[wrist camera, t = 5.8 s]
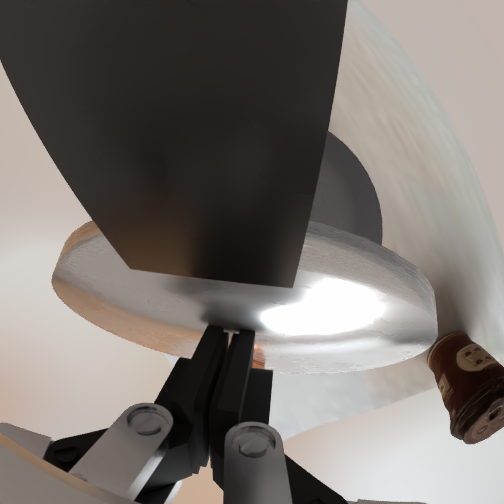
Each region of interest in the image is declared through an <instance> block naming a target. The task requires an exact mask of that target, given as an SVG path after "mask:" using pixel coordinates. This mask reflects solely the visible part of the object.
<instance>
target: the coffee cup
mask: <svg viewBox="0 0 504 504" xmlns="http://www.w3.org/2000/svg"><path fill="white" fill-rule="evenodd" d="M428 366H429V368H430V369H431V370H432V371H433V372H434V374H435V379H436V382H437V385H438V388H439V390H440V392H441V395H442V399H443V402H444V405H445V407H446V409H447V410H448V412H449V415H450V420H451V422H450V430H451V434H452V436H454V437H456V438H458V439H460V440H463V441H464V442H465V443H466V444H475V443H478V442H480V441H482V440H485V439H487V438H489V437H490V436H491V435H492V434H494V433H495V432H496V431H498V430H500V429H501V428H502V427H504V367H503V366H502V365H501V364H499V362H498V361H496V360H495V359H494V358H493V357H492V356H491V355H490V354H489V353H487V351H485V350H484V349H483V348H482V347H481V346H480V345H478V344H476V343H475V342H473V341H471V339H470V338H469V337H468V336H467V335H466V334H465V333H463V332H456V333H452V334H450V335H448V336H445V337H443V338H442V339H441V340H440V341H438V342H437V343H436V344H435V345H434V347H433V349H432V350H431V351H430V353H429V357H428Z"/></svg>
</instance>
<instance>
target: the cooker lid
mask: <svg viewBox="0 0 504 504" xmlns="http://www.w3.org/2000/svg"><path fill="white" fill-rule="evenodd" d="M347 2H348V0H0V60H1V63H2V65H3V67H4V70H5V72H6V74H7V76H8V78H9V80H10V83H11V85H12V87H13V89H14V91H15V93H16V95H17V97H18V99H19V101H20V103H21V105H22V107H23V108H24V111H25V112H26V114H27V116H28V118H29V120H30V122H31V124H32V125H33V127H34V129H35V130H36V133H37V134H38V136H39V138H40V139H41V141H42V143H43V145H44V146H45V148H46V150H47V151H48V153H49V155H50V156H51V158H52V159H53V161H54V163H55V164H56V166H57V168H58V169H59V171H60V172H61V174H62V176H63V177H64V179H65V180H66V182H67V183H68V185H69V186H70V188H71V189H72V191H73V192H74V194H75V195H76V197H77V198H78V200H79V201H80V203H81V204H82V205H83V207H84V208H85V210H86V211H87V213H88V214H89V215H90V217H91V218H92V221H90V222H88V223H85V224H84V225H82V226H81V227H80V228H78V229H77V230H76V231H74V232H73V233H72V234H71V236H70V237H69V238H68V240H67V241H66V242H65V245H64V247H63V250H62V252H61V254H60V257H59V259H58V262H57V265H56V267H55V270H54V272H53V275H52V285H53V289H54V291H55V292H56V294H57V296H58V297H59V298H60V299H61V300H62V301H63V302H64V303H65V304H66V305H67V306H68V307H69V308H70V309H72V310H73V311H74V312H76V313H77V314H78V315H80V316H81V317H83V318H85V319H86V320H88V321H90V322H91V323H93V324H95V325H96V326H98V327H100V328H102V329H104V330H106V331H108V332H110V333H112V334H114V335H117V336H119V337H121V338H124V339H126V340H129V341H131V342H134V343H136V344H139V345H142V346H145V347H148V348H151V349H154V350H157V351H160V352H163V353H166V354H170V355H173V356H177V357H184V358H189V359H191V358H192V356H193V354H194V352H195V350H196V348H197V346H198V343H199V341H200V339H201V337H202V335H203V333H204V331H205V329H206V327H207V326H215V327H222V328H223V329H224V332H229V344H230V341H231V338H232V335H233V333H237V334H239V331H240V330H246V331H255V344H254V355H253V366H252V368H259V369H268V370H273V373H291V374H325V373H342V372H353V371H361V370H367V369H373V368H379V367H383V366H388V365H392V364H395V363H399V362H402V361H405V360H407V359H410V358H413V357H415V356H417V355H419V354H421V353H423V352H424V351H425V350H427V349H428V348H430V347H431V346H432V345H433V343H434V342H435V341H436V339H437V336H438V326H437V314H436V303H435V295H434V290H433V288H432V287H431V285H430V283H429V281H428V279H427V278H426V277H425V276H424V275H423V274H422V273H421V272H420V271H419V270H418V269H417V268H416V267H415V266H414V265H413V264H411V263H410V262H408V261H407V260H405V259H404V258H403V257H401V256H400V255H398V254H397V253H395V252H393V251H391V250H389V249H387V248H385V247H383V246H381V245H379V244H377V243H375V242H373V241H371V240H368V239H366V238H364V237H361V236H358V235H355V234H353V233H350V232H347V231H344V230H341V229H338V228H335V227H332V226H329V225H326V224H322V223H318V222H314V221H309V219H310V214H311V210H312V205H313V201H314V196H315V192H316V187H317V182H318V178H319V173H320V168H321V163H322V158H323V153H324V148H325V143H326V137H327V132H328V127H329V121H330V116H331V110H332V104H333V99H334V93H335V87H336V81H337V75H338V68H339V62H340V55H341V48H342V41H343V34H344V26H345V19H346V11H347ZM228 348H229V347H228Z"/></svg>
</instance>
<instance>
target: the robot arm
mask: <svg viewBox="0 0 504 504" xmlns="http://www.w3.org/2000/svg"><path fill="white" fill-rule="evenodd" d="M254 344H255V331H246V330H240V331H239V334H237V333H233V335H232V338H231V341H230V344H229V332H224V329H223V328H222V327H215V326H207V327H206V329H205V331H204V333H203V335H202V337H201V339H200V341H199V343H198V346H197V348H196V350H195V352H194V354H193V356H192V358H191V359H189V358H184V357H180V358H179V359H178V361H177V362H176V364H175V366H174V368H173V370H172V372H171V373H170V375H169V377H168V379H167V381H166V382H165V384H164V386H163V388H162V390H161V391H160V393H159V395H158V397H157V399H156V400H155V402H154V403H140V404H136V405H133V406H131V407H129V408H128V409H127V410H125V411H124V412H123V413H122V414H121V416H120V417H119V418H118V419H117V420H116V421H115V422H114V423H113V424H112V425H111V427H110V428H107V429H102V430H99V431H94V432H90V433H86V434H82V435H77V436H73V437H68V438H63V439H60V440H57V441H53V440H52V438H51V437H48V436H45V435H41V434H38V433H35V432H32V431H28V430H25V429H23V428H20V427H17V426H14V425H11V424H8V423H0V504H171V502H172V501H173V499H174V497H175V496H176V494H177V492H178V490H179V489H180V487H181V485H182V482H183V479H184V478H187V477H189V476H192V473H194V474H198V473H199V469H200V466H203V467H206V466H207V463H208V460H209V456H210V461H211V468H213V480H214V481H215V482H216V484H217V485H218V486H219V487H220V488H221V489H222V490H223V491H224V496H223V504H426V503H421V502H388V501H371V500H360V499H358V500H357V502H352V501H346V500H345V499H344V498H343V497H342V496H341V495H339V494H338V493H336V492H335V491H333V490H332V489H330V488H329V487H327V486H326V485H325V484H323V483H322V482H321V481H319V480H318V479H317V478H315V477H314V476H312V475H311V474H310V473H308V472H307V471H306V470H305V469H303V468H302V467H301V466H299V465H298V464H297V463H295V462H294V461H293V460H291V459H290V458H289V457H288V456H287V455H285V454H284V449H283V442H282V439H281V436H280V434H279V433H278V432H277V431H276V430H275V429H274V428H272V427H271V426H269V425H268V424H269V413H270V402H271V390H272V378H273V370H268V369H259V368H252V366H253V355H254ZM228 347H229V348H228Z"/></svg>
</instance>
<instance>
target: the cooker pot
mask: <svg viewBox="0 0 504 504" xmlns="http://www.w3.org/2000/svg"><path fill="white" fill-rule="evenodd" d="M309 221H314V222H318V223H322V224H326V225H329V226H332V227H335V228H338V229H341V230H344V231H347V232H350V233H353V234H355V235H358V236H361V237H364V238H366V239H368V240H371V241H373V242H375V243H377V244H379V245H382V216H381V210H380V204H379V201H378V197H377V194H376V191H375V188H374V186H373V184H372V182H371V179H370V177H369V175H368V173H367V171H366V170H365V168H364V167H363V165H362V164H361V162H360V161H359V159H358V158H357V157H356V156H355V155H354V154H353V152H352V151H351V150H350V149H349V148H348V147H347V146H346V145H345V144H344V143H343V142H342V141H340V140H339V139H338V138H337V137H336V136H335V135H333V134H332V133H330V132H329V131H328V132H327V137H326V143H325V148H324V153H323V158H322V163H321V168H320V173H319V178H318V182H317V187H316V192H315V196H314V201H313V205H312V210H311V214H310V219H309Z"/></svg>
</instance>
